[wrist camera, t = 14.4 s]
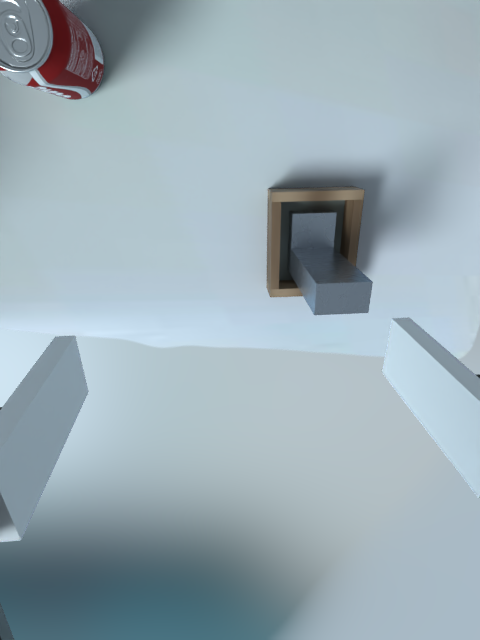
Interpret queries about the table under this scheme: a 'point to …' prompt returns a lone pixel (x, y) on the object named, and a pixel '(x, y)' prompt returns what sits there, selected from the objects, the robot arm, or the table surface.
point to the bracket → (324, 266)
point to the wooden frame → (304, 199)
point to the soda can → (49, 48)
